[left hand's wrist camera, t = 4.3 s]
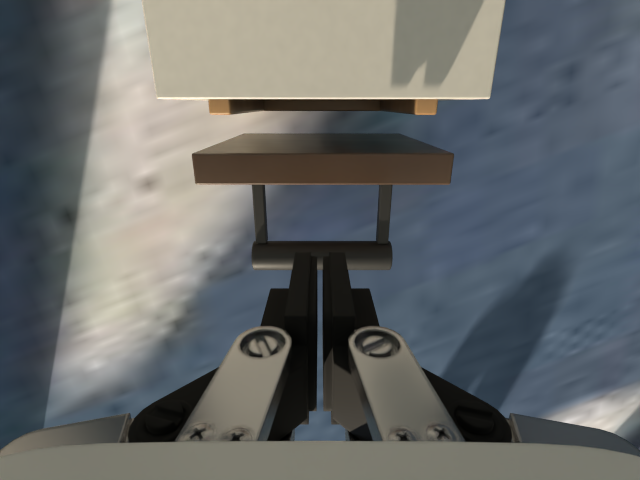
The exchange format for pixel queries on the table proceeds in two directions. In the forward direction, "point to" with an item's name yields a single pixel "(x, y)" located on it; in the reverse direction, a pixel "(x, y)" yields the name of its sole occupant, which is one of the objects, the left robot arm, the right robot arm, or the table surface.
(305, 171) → the drawer
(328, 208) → the table surface
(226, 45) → the cabinet
